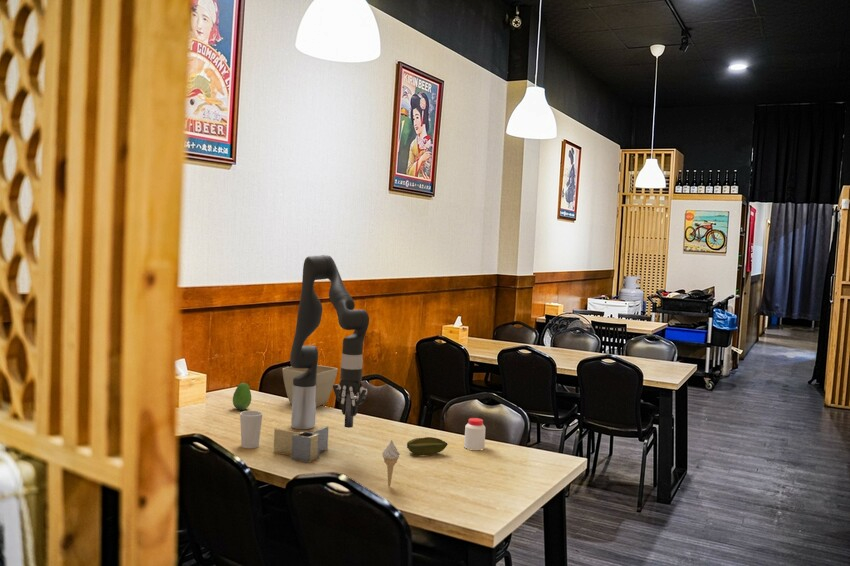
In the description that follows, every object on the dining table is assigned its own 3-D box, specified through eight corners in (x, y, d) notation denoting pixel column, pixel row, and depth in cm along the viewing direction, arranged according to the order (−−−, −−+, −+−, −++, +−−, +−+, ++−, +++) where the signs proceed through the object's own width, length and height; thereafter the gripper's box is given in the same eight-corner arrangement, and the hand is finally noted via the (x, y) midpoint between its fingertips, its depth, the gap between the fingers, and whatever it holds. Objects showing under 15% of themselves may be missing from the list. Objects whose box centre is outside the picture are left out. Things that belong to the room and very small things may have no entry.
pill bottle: (487, 447, 270) (488, 419, 270) (480, 452, 263) (481, 423, 263) (468, 444, 274) (470, 416, 273) (461, 448, 267) (462, 420, 266)
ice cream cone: (380, 483, 223) (382, 436, 223) (397, 483, 224) (400, 437, 223) (380, 489, 218) (383, 441, 217) (398, 489, 218) (401, 442, 217)
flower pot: (337, 403, 332) (338, 367, 331) (314, 410, 314) (316, 373, 313) (303, 397, 339) (304, 363, 338) (279, 404, 322) (281, 368, 321)
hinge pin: (347, 424, 249) (348, 391, 248) (354, 426, 247) (356, 392, 247) (342, 426, 246) (344, 392, 245) (350, 428, 245) (351, 394, 244)
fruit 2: (422, 448, 265) (423, 430, 265) (448, 455, 258) (449, 437, 257) (403, 454, 256) (404, 436, 256) (429, 461, 249) (430, 443, 248)
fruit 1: (233, 407, 313) (234, 380, 312) (252, 407, 314) (253, 381, 313) (230, 411, 305) (231, 384, 304) (249, 411, 306) (250, 384, 305)
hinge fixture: (296, 443, 263) (297, 420, 262) (334, 450, 256) (335, 427, 255) (268, 454, 248) (269, 430, 247) (307, 462, 240) (308, 438, 240)
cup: (255, 449, 252) (256, 416, 251) (234, 447, 253) (236, 414, 253) (264, 443, 259) (266, 411, 259) (244, 441, 261) (246, 409, 260)
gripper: (374, 367, 246) (371, 415, 247) (340, 362, 252) (337, 409, 253) (363, 370, 239) (361, 420, 240) (328, 365, 245) (326, 414, 246)
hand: (349, 414), depth 246 cm, fingers closed on hinge pin, 3 cm apart
